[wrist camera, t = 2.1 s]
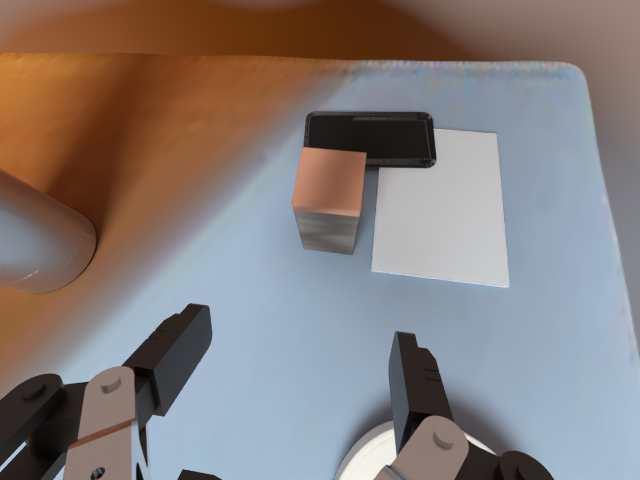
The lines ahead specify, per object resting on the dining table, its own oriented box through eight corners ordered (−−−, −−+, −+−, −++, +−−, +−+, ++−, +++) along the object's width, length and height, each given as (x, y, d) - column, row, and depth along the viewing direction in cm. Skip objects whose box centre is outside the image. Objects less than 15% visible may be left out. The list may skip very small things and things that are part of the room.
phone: (437, 167, 33) (301, 164, 34) (434, 173, 34) (302, 170, 35) (431, 111, 36) (306, 110, 37) (428, 118, 37) (307, 117, 38)
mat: (370, 271, 30) (371, 269, 30) (382, 127, 36) (383, 124, 36) (506, 287, 29) (509, 286, 28) (494, 136, 35) (496, 133, 35)
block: (303, 249, 31) (291, 203, 22) (311, 206, 33) (302, 147, 24) (352, 254, 31) (360, 210, 21) (356, 211, 32) (366, 152, 23)
